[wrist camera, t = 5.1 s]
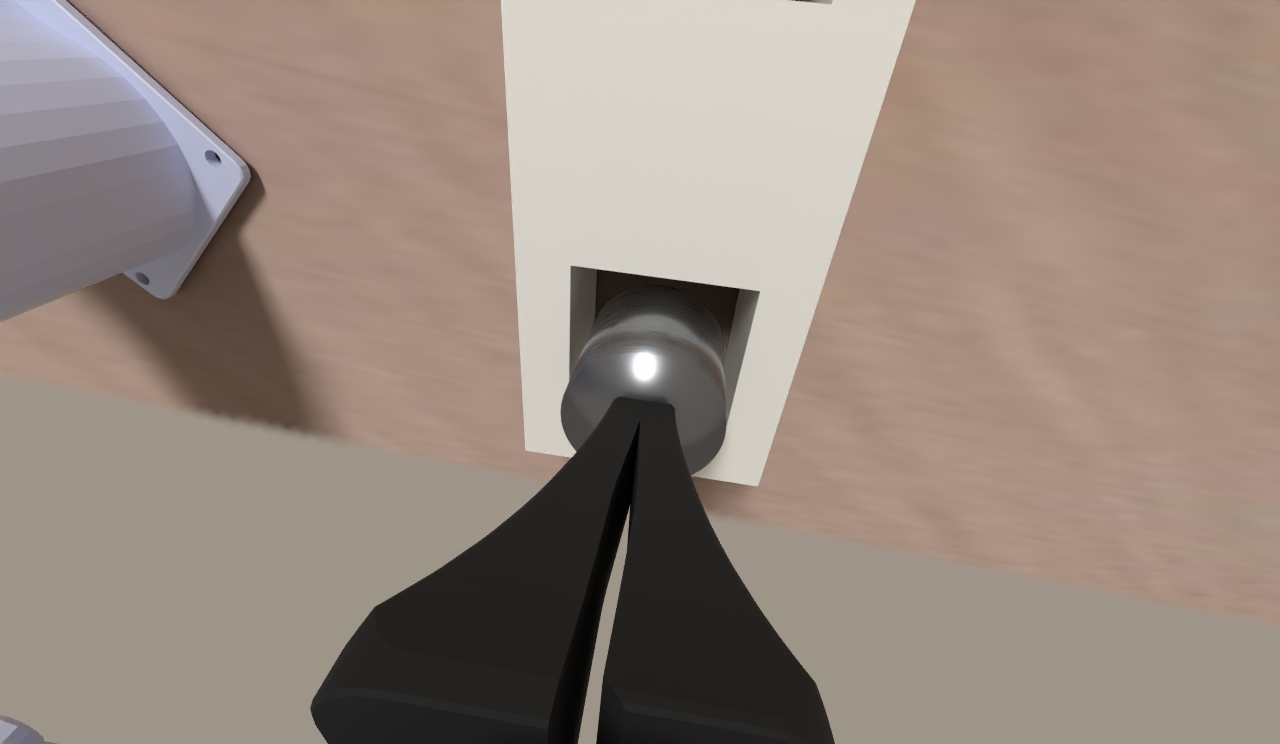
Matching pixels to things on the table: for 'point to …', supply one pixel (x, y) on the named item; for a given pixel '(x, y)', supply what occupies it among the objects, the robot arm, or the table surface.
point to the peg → (653, 368)
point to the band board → (687, 176)
